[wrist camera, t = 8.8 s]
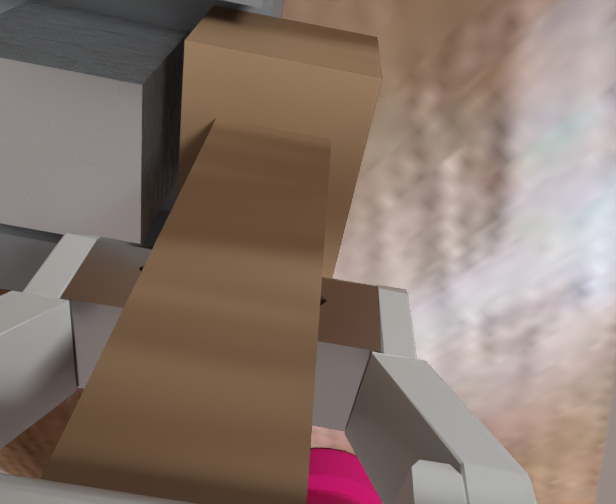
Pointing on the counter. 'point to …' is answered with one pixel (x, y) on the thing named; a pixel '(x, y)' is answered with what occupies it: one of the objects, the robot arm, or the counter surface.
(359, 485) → the pepper mill
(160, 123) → the grey cube
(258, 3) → the groove board
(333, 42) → the brown bar
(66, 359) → the robot arm
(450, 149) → the counter surface
